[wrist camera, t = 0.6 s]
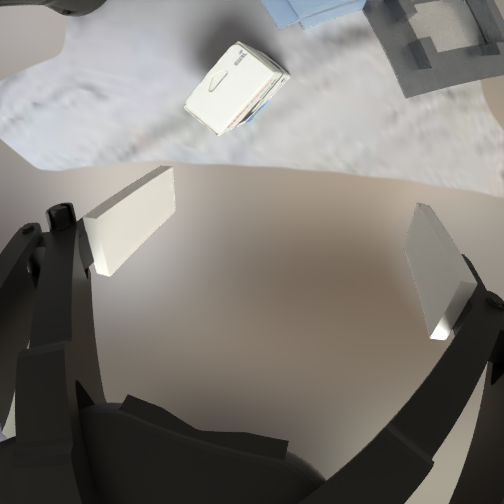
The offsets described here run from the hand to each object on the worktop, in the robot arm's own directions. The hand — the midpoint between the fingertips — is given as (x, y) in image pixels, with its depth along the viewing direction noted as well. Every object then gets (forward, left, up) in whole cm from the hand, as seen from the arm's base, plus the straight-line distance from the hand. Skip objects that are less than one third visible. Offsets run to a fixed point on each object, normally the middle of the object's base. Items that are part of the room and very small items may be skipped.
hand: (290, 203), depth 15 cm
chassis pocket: (-8, +23, -24) cm, 34 cm away
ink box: (-8, -4, -24) cm, 26 cm away
